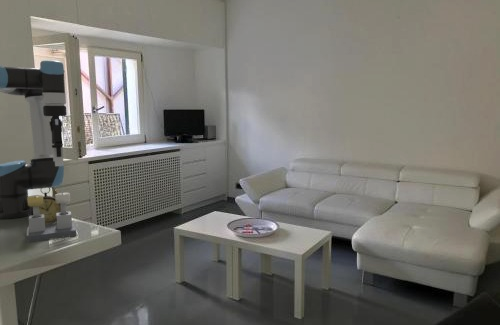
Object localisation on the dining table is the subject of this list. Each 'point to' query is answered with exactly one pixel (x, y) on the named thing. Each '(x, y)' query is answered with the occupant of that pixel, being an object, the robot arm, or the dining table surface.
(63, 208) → the knob ivory
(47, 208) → the alarm clock
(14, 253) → the dining table surface
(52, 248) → the dining table surface
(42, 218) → the mount
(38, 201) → the knob mustard
